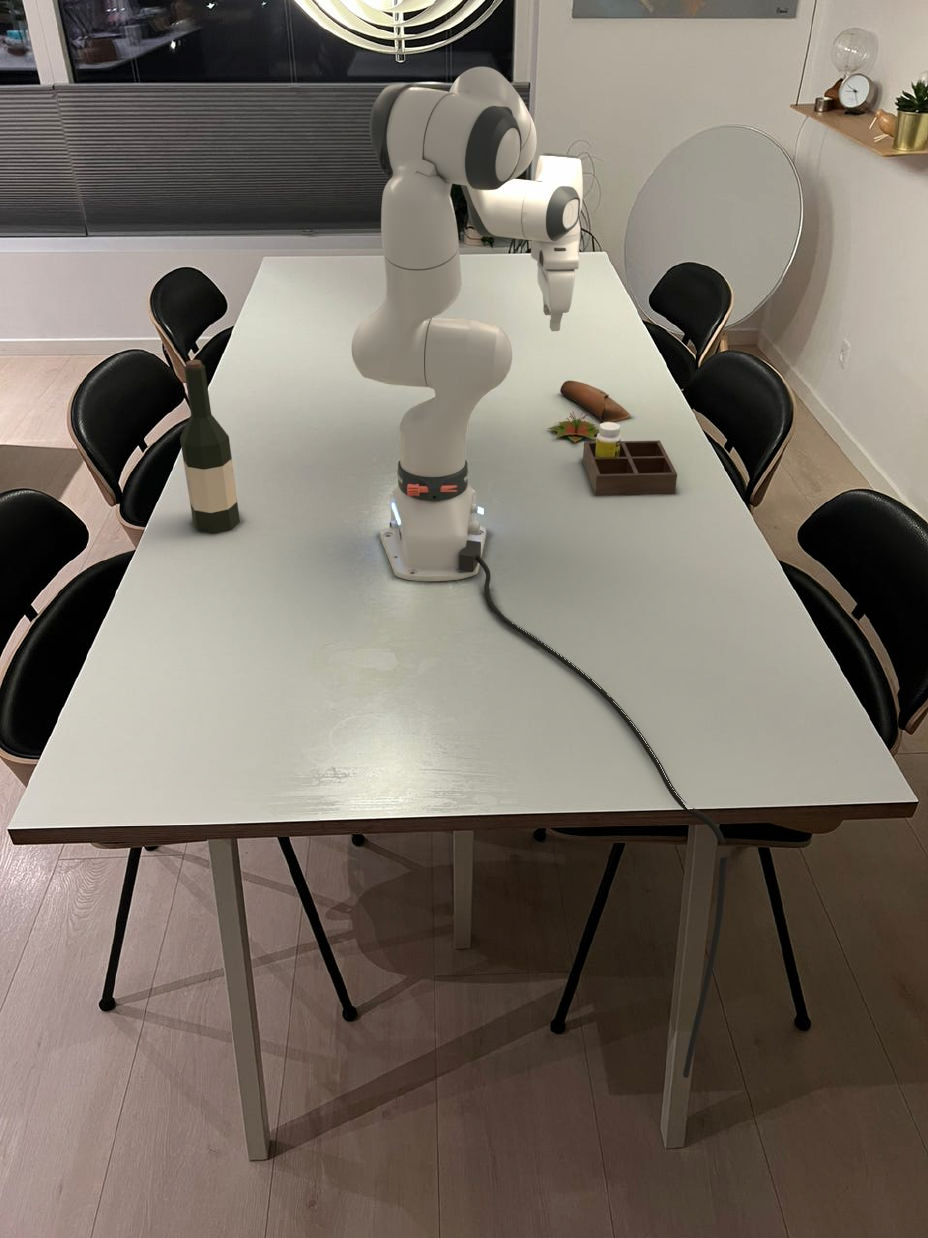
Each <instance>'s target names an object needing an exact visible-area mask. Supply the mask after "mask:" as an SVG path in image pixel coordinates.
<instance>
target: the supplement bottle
mask: <svg viewBox="0 0 928 1238" xmlns="http://www.w3.org/2000/svg"><path fill="white" fill-rule="evenodd" d="M598 429H599V433H598V434H596V440H595V442H596V452H595V457H619V452H620V442H621V441H622V436H621V435H620V432H621V425H620V424H619V423H617V422H602V423H600V424H599V428H598Z"/></svg>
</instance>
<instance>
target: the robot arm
mask: <svg viewBox="0 0 928 1238" xmlns="http://www.w3.org/2000/svg"><path fill="white" fill-rule="evenodd" d="M368 122H369V123H368V129H369V130H368V131H369V138H370V142H371V145H372V149H373V153H374V155H375V156H376V158H377V159H376V160H377V163H378V166H379V169H380V171H381V172H382V173H383V174H384V175H385V176H386V177H387V178H389V180H388V181H387V183H386V184H385V186H384V188H383V192H382V199H381V210H380V211H381V212H380V230H381V231H380V232H381V233H380V234H381V244H382V246H381V247H382V254H383V262H384V271H385V296H384V298H383V301H382V303H381V305H380V307H378V309H377V310H376V311H375V312H373V313H372V314H370V315H369V316H367V317H365V318H364V319H363V320H362V321H361V322H360V323H359V324H358V326H357V327H356V329H355V331H354V333H353V336H352V340H351V356H352V361H353V363H354V366H355V367H356V369H357V372H359V374H360V375H361V376H362V377H363V378H366V379H369V380H372V381H375V382H377V383H383V384H386V385H390V386H403V387H417V388H429V389H432V390H433V391H434V397H432V398H430V399H428V400H426V401H423V402H421V403H418V404H416V405H414V406H412V407H411V408H409V409H408V410H407V411H406V412H405V413H404V414H403V416H402V417H401V419H400V422H399V425H398V427H399V428H398V429H399V431H398V433H399V461H398V462H397V469H396V475H397V484H398V485H397V486H396V487H395V488H394V489H393V490H392V491H391V492H390V493H389V495H390V496H389V497H390V499H389V501H390V502H389V503H390V521H389V526H387V527H384V528H382V529H381V530H380V534H379V539H380V541H381V542H382V546H383V549H384V551H385V553H386V556H387V559H388V561H389V564H390V567H391V569H392V572H393V574H394V575H395V576H396V577H397V578H400V579H403V580H408V581H414V582H415V581H417V582H449V581H456V580H457V581H458V580H462V579H467V578H470V577H474V576H476V575H477V574H478V573H479V571H480V566H481V568H482V570H483V571H484V573H485V580H484V584H483V585H484V586H483V591H484V597H485V599H486V603H487V604H488V606H489V608H490V609H491V610H492V612H493V614H495V615H496V616H497V617H498V618H499V619H500V620H501V622H503V623H504V624H505V625H506V626H508V627H509V628H511V629H512V630H514V631H515V632H516V633H518V634H520V635H522V636H523V637H525V638H526V639H528V640H529V641H531V642H532V643H533V644H535V645H537V646H538V647H539V648H541V649H542V650H543V651H545V652H546V653H548V654H549V655H551V656H552V657H554V658H555V659H556V660H558V661H559V662H560V663H562V664H564V665H565V666H566V667H567V668H569V669H570V670H572V671H573V672H574V673H575V674H577V676H579V678H582V679H583V680H584V681H585V682H586V683H587V684H589V686H591V687H592V688H593V690H595V691H596V692H597V693H598V694H599V695H600V696H602V698H603V699H605V701H607V703H608V704H609V705H610V706H611V707H612V708H613V709H614V710H615V711H616V713H617V714H618V715H619V716H620V717H621V719H622V720H623V721H624V722H625V723H626V725H627V726H628V727H629V729H630V730H631V731H632V733H633V735H634V736H635V737H636V739H637V740H638V741H639V743H640V744H641V746H642V747H643V749H644V751H645V752H646V754H647V755H648V757H649V759H650V760H651V762H652V763H653V765H654V766H655V768H656V770H657V772H658V774H659V777H660V778H661V781H663V784H664V786H665V787H666V790H667V791H668V792H669V794H670V795H671V797H672V798H673V800H674V801H675V802H676V804H678V805H679V806H680V807H681V808H682V809H683V810H684V811H685V812H686V813H688V814H689V815H692V816H694V817H696V818H697V819H699V820H700V821H702V822H703V823H705V824H706V825H707V826H708V827H709V828H710V829H711V831H712V832H713V834H714V835H715V837H716V839H717V841H718V843H719V844H722V845H723V844H726V839H725V836H724V834H723V832H722V830H721V828H720V827H719V826H718V825H717V823H716V822H715V821H714V820H713V819H712V818H711V817H710V816H709V815H707V814H705V813H703V812H702V811H700V810H698V809H696V808H695V807H693V809H690V810H688V809H687V808H686V807H685V805H684V804H683V802H682V801H681V799H682V800H683V801H684V802H685V803H687V801H685V800H684V799H683V798H682V797H681V795H680V794H679V792H678V791H677V790H676V788H675V787H674V785H673V782H671V780H670V777H669V776H668V774H667V772H666V770H665V768H664V766H663V764H662V763H661V760H660V759H659V758H658V756H657V755H656V753H655V752H654V750H653V749H652V747H651V746H650V744H649V743H648V741H647V739H646V737H645V736H644V735H643V734H642V732H641V731H640V729H639V728H638V727H637V725H636V724H635V723H634V721H633V720H632V719H631V717H630V716H629V715H628V714H627V713H626V711H625V710H624V709H623V708H622V707H621V706H620V705H619V703H617V701H615V699H614V698H613V697H612V696H611V695H610V694H609V693H608V692H607V691H606V690H605V689H604V688H603V687H602V686H601V685H599V683H597V682H596V680H594V679H592V677H590V676H589V675H588V674H586V672H584V671H583V669H580V668H579V667H578V666H577V665H576V664H574V663H573V662H571V661H570V660H569V659H568V658H566V657H565V656H563V655H562V654H561V653H559V652H558V651H556V650H555V649H553V648H552V647H551V646H549V645H547V644H546V643H544V642H543V641H541V640H540V639H539V638H537V637H536V636H534V635H533V634H532V633H530V632H529V631H527V630H525V629H524V628H522V627H520V626H519V625H517V624H516V623H514V622H513V621H511V620H510V619H509V618H507V617H506V616H505V615H504V614H503V613H502V611H500V609H498V607H497V606H496V605H495V602H494V601H493V599H492V595H491V591H490V584H491V578H492V577H491V571H490V568H489V567H488V565H487V563H486V562H485V561H484V560H483V558H482V557H483V553H484V548H485V543H486V540H487V535H488V533H487V529H486V527H484V526H483V525H481V524H480V522H479V521H478V520H476V515H477V514H479V515H480V514H481V515H484V511H485V510H484V508H483V507H480V506H478V505H476V490H474V489H473V487H471V486H470V485H469V467H468V461H467V460H466V447H467V444H466V443H467V433H468V425H469V421H470V418H471V415H472V413H473V412H474V410H475V408H476V406H477V404H478V403H479V402H480V401H481V400H482V398H484V396H486V395H487V394H488V393H489V392H491V391H493V390H494V389H496V388H497V387H499V386H500V385H501V384H502V383H503V382H504V380H505V379H506V378H507V376H508V374H509V372H510V371H511V367H512V363H513V348H512V343H511V340H510V338H509V336H508V334H507V333H506V331H505V330H504V329H503V327H501V326H498V325H495V324H492V323H488V322H485V321H481V320H477V319H473V318H456V317H455V318H454V317H439V315H441V314H442V313H444V312H445V311H447V310H448V309H449V308H450V307H451V306H452V305H454V303H455V302H456V300H458V297H459V296H460V293H461V291H462V272H461V271H462V270H461V257H460V242H459V232H458V231H459V229H458V224H457V218H456V214H455V209H454V205H453V200H452V196H451V191H452V186H453V184H454V185H460V188H461V190H462V193H463V196H464V199H465V201H466V204H467V205H466V206H467V214H468V219H469V222H470V225H471V226H472V227H473V229H474V230H475V231H476V233H477V234H478V235H479V236H480V237H483V238H485V237H487V238H509V239H517V240H525V241H531V245H530V258H531V259H533V260H535V261H536V262H537V263H536V264H537V275H536V276H537V284H538V286H539V288H540V289H539V290H540V291H541V293H542V303H543V307H542V308H543V309H542V311H543V314H544V315H545V316H550V319H549V330H550V331H551V332H559V331H560V330H561V322H562V319H563V315H564V314H566V313H567V314H568V313H569V311H570V309H571V306H572V301H573V295H574V286H575V277H576V270H578V269H579V268H580V267H579V266H580V245H581V244H580V243H581V225H580V214H581V211H582V208H583V197H584V195H583V194H584V179H583V178H584V177H583V166H582V161H581V159H580V158H579V157H578V156H576V155H574V154H563V153H552V152H544V153H542V154H540V155H539V156H538V160H537V163H536V170H535V177H534V180H529V179H521V178H520V179H519V178H518V177H520V176H521V175H522V174H523V173H524V172H525V171H526V170H527V169H528V167H529V165H530V164H531V162H532V161H533V158H534V156H535V154H536V151H537V145H538V137H537V130H536V126H535V123H534V120H533V118H532V116H531V114H530V112H529V110H528V108H527V106H526V104H525V102H524V100H523V99H522V97H521V96H520V94H519V92H518V91H517V90H516V89H515V87H514V86H513V84H512V83H510V81H508V79H507V78H506V77H505V76H504V75H503V74H502V73H501V72H499V71H498V70H496V69H494V68H492V67H489V66H475V67H472V68H469V69H467V70H465V71H464V72H462V73H461V74H460V75H459V76H458V77H457V78H456V79H455V81H454V82H453V84H451V86H450V89H449V91H446V90H441V89H436V88H428V87H420V86H417V84H414V83H396V84H391V85H387V86H385V88H384V89H382V91H381V92H380V94H379V95H378V96H377V97H376V99H375V101H374V103H373V105H372V108H371V111H370V115H369V121H368ZM512 623H513V624H512ZM517 626H518V627H519V628H518V627H517ZM520 628H521V629H520ZM522 629H523V630H524V631H523V630H522ZM525 631H526V632H527V633H526V632H525ZM528 633H529V634H530V635H529V634H528ZM531 635H532V636H533V637H532V636H531ZM534 637H535V638H536V639H535V638H534ZM537 639H538V640H539V641H538V640H537ZM541 642H542V643H541ZM544 644H545V645H546V646H545V645H544ZM547 646H548V647H549V648H548V647H547ZM550 648H551V649H552V650H551V649H550ZM553 650H554V651H555V652H554V651H553ZM556 652H557V653H558V654H559V655H558V654H557V653H556ZM560 655H561V656H562V657H561V656H560ZM564 658H565V659H566V660H565V659H564ZM568 661H569V662H570V663H569V662H568ZM572 664H573V665H574V666H575V667H574V666H573V665H572ZM576 667H577V668H578V669H579V670H578V669H577V668H576ZM580 670H581V671H582V672H583V673H584V674H583V673H582V672H581V671H580ZM585 674H586V675H587V676H588V677H589V678H590V679H589V678H588V677H587V676H586V675H585ZM592 680H593V681H594V682H595V683H596V684H597V685H598V686H599V687H600V688H601V689H600V688H599V687H598V686H597V685H596V684H595V683H594V682H593V681H592ZM607 694H608V695H609V696H610V697H609V696H608V695H607ZM613 701H614V702H615V703H616V704H617V705H618V706H619V707H620V708H621V709H620V708H619V707H618V706H617V705H616V704H615V703H614V702H613ZM621 710H622V711H623V712H624V713H625V714H626V715H625V714H624V713H623V712H622V711H621ZM626 716H627V717H628V718H629V719H630V720H629V719H628V718H627V717H626ZM630 721H631V722H632V723H633V724H634V726H635V727H636V728H637V730H638V731H639V732H638V731H637V730H636V728H635V727H634V726H633V724H632V723H631V722H630ZM639 733H640V734H641V735H642V737H643V738H644V740H645V741H646V743H647V744H646V743H645V741H644V740H643V738H642V737H641V735H640V734H639ZM647 745H648V746H649V747H648V746H647ZM649 748H650V749H651V751H652V752H653V754H654V755H655V757H656V758H655V757H654V755H653V754H652V752H651V751H650V749H649ZM656 759H657V760H658V762H659V763H658V762H657V760H656ZM659 764H660V765H661V767H662V769H663V771H664V773H665V775H666V777H667V779H668V780H667V779H666V777H665V775H664V773H663V771H662V769H661V767H660V765H659ZM668 781H669V782H668ZM669 783H670V784H671V786H672V787H671V786H670V784H669ZM672 788H673V789H674V790H673V789H672ZM674 791H675V792H676V793H677V795H678V796H679V797H680V798H681V799H680V798H679V797H678V796H677V795H676V793H675V792H674ZM718 865H719V866H718V878H717V896H716V908H715V916H714V923H713V930H712V937H711V941H710V948H709V953H708V959H707V964H706V968H705V972H704V977H703V981H702V986H701V990H700V994H699V999H698V1003H697V1008H696V1011H695V1015H694V1021H693V1025H692V1029H691V1034H690V1037H689V1042H688V1047H687V1052H686V1056H685V1062H684V1067H683V1072H682V1075H683V1078H685V1079H686V1078H689V1076H690V1073H691V1067H692V1062H693V1057H694V1052H695V1049H696V1048H695V1047H696V1044H697V1039H698V1034H699V1030H700V1025H701V1022H702V1018H703V1013H704V1010H705V1005H706V1001H707V998H708V997H707V996H708V993H709V987H710V984H711V979H712V975H713V971H714V965H715V961H716V956H717V952H718V946H719V940H720V935H721V928H722V921H723V914H724V905H725V896H726V895H725V892H726V874H727V865H728V857H727V856H724V857H722V856H721V857H719V864H718Z"/></svg>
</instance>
